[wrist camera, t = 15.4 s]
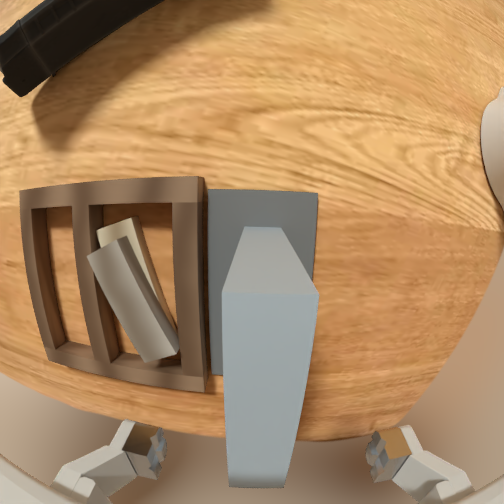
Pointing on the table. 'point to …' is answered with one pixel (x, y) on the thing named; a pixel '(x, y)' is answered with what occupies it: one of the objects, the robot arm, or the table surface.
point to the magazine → (59, 36)
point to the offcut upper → (134, 300)
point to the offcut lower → (136, 253)
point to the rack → (93, 298)
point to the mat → (229, 233)
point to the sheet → (265, 355)
